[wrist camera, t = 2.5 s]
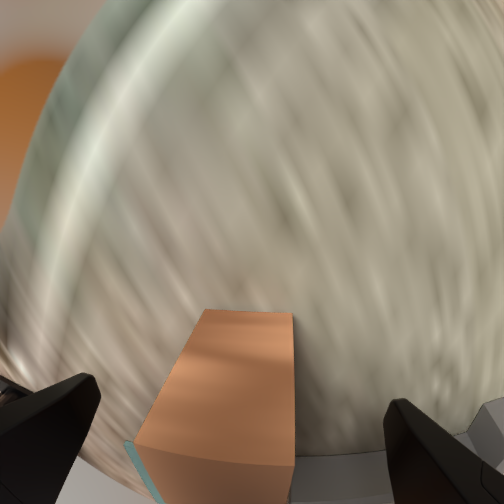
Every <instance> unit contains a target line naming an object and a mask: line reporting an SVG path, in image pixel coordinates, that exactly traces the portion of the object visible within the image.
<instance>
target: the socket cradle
mask: <svg viewBox="0 0 504 504" xmlns="http://www.w3.org/2000/svg"><path fill="white" fill-rule="evenodd" d="M453 437H455V438H456V439H457V440H458V441H460V442H461V443H462V444H463V445H465V446H466V447H467V448H469V449H470V450H471V451H472V452H474V453H475V454H476V455H478V456H479V457H480V458H481V459H482V461H483V460H484V461H485V462H487V463H488V464H489V465H491V466H492V467H493V468H495V469H496V470H497V471H499V472H500V473H502V474H504V397H503V398H500V399H497V400H494V401H491V402H487V403H484V404H483V406H482V407H481V409H480V411H479V413H478V414H477V416H476V418H475V419H474V421H473V422H472V424H471V426H470V427H469V429H468V430H467V432H465V433H462V434H458V435H455V436H453ZM391 502H394V497H393V492H392V487H391V482H390V477H389V472H388V467H387V457H386V450H384V451H377V452H369V453H360V454H349V455H335V456H310V457H295V467H294V471H293V476H292V481H291V485H290V489H289V504H386V503H391Z"/></svg>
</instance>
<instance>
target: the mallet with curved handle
mask: <svg viewBox="0 0 504 504" xmlns="http://www.w3.org/2000/svg"><path fill="white" fill-rule="evenodd" d="M133 444H134V446H135V449H136V451H137V453H138V455H139V457H140V459H141V461H142V463H143V465H144V467H145V469H146V470H147V472H148V474H149V476H150V478H151V480H152V482H153V483H154V485H155V487H156V489H157V490H158V492H159V494H160V496H161V497H162V499H163V501H164V502H165V503H166V504H286V502H287V498H288V493H289V489H290V485H291V481H292V476H293V471H294V467H295V386H294V346H293V319H292V313H269V312H246V311H227V310H211V309H205V310H204V312H203V314H202V316H201V317H200V319H199V321H198V323H197V325H196V327H195V328H194V330H193V332H192V334H191V336H190V337H189V339H188V341H187V343H186V345H185V347H184V348H183V350H182V352H181V354H180V356H179V358H178V359H177V361H176V363H175V365H174V367H173V369H172V371H171V372H170V374H169V376H168V378H167V380H166V382H165V383H164V385H163V387H162V389H161V391H160V393H159V395H158V396H157V398H156V400H155V402H154V404H153V406H152V408H151V410H150V411H149V413H148V415H147V417H146V419H145V421H144V423H143V425H142V426H141V428H140V430H139V432H138V434H137V436H136V438H135V440H134V442H133Z"/></svg>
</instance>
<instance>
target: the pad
mask: <svg viewBox="0 0 504 504" xmlns="http://www.w3.org/2000/svg"><path fill="white" fill-rule="evenodd" d="M124 447H125V449H126V451H127V453H128V455H129V457H130V458H131V460H132V462H133V464H134V466H135V468H136V469H137V471H138V473H139V475H140V476H141V478H142V480H143V481H144V483H145V485H146V486H147V488H148V490H149V491H150V493H151V494H152V496H153V498H154V499H155V501H156V502H157V503H159V504H166V503H165V502H164V501H163V499H162V497H161V496H160V494H159V492H158V490H157V489H156V487H155V485H154V483H153V482H152V480H151V478H150V476H149V474H148V472H147V470H146V469H145V467H144V465H143V463H142V461H141V459H140V457H139V455H138V453H137V451H136V449H135V446H134V444H133V443H132V442H129V441H126V442H125V443H124Z"/></svg>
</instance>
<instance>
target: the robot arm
mask: <svg viewBox="0 0 504 504" xmlns="http://www.w3.org/2000/svg"><path fill="white" fill-rule="evenodd" d="M0 391H1V393H0V504H55V503H56V500H57V498H58V495H59V493H60V491H61V489H62V487H63V485H64V482H65V480H66V478H67V476H68V474H69V472H70V469H71V467H72V465H73V463H74V461H75V459H76V457H77V455H78V453H79V451H80V449H81V447H82V445H83V443H84V441H85V439H86V436H87V434H88V432H89V429H90V426H91V424H92V421H93V418H94V416H95V413H96V410H97V408H98V405H99V403H100V400H101V393H100V390H99V388H98V385H97V382H96V380H95V377H94V376H93V375H91V374H87V373H80V374H77V375H75V376H73V377H71V378H68V379H66V380H64V381H61V382H59V383H57V384H54V385H52V386H50V387H47V388H45V389H43V390H40V391H38V392H35V393H32V392H30V391H28V390H26V389H24V388H22V387H20V386H18V385H16V384H15V383H13V382H11V381H9V380H7V379H5V378H4V377H2V376H0ZM383 428H384V436H385V446H386V457H387V467H388V472H389V477H390V482H391V487H392V492H393V497H394V503H395V504H504V475H503V474H502V473H500V472H499V471H497V470H496V469H495V468H493V467H492V466H491V465H489V464H488V463H487V462H485V461H484V460H483V461H482V459H481V458H480V457H479V456H478V455H476V454H475V453H474V452H472V451H471V450H470V449H469V448H467V447H466V446H465V445H463V444H462V443H461V442H460V441H458V440H457V439H456V438H455V437H453V436H452V435H451V434H449V433H448V432H447V431H446V430H444V429H443V428H442V427H441V426H439V425H438V424H437V423H436V422H434V421H433V420H432V419H431V418H429V417H428V416H427V415H426V414H424V413H423V412H422V411H421V410H419V409H418V408H417V407H416V406H414V405H413V404H412V403H411V402H409V401H408V400H407V399H405V398H400V399H393V400H392V401H391V402H390V404H389V407H388V409H387V412H386V414H385V417H384V420H383Z"/></svg>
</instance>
